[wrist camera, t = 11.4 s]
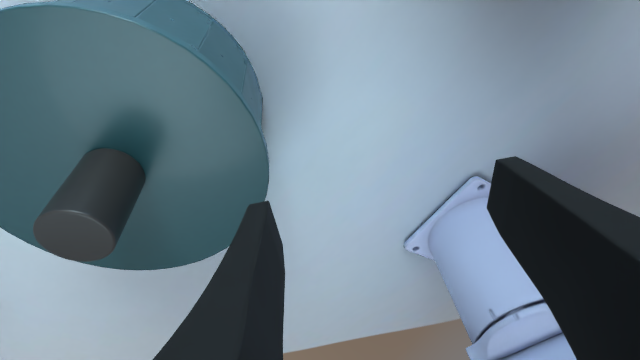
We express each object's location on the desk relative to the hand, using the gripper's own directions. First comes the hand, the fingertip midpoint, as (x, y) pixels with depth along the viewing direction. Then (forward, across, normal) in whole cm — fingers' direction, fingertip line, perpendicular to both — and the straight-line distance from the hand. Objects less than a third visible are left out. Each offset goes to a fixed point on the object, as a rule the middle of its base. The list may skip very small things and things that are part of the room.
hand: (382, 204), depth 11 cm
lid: (+4, +10, 0) cm, 11 cm away
